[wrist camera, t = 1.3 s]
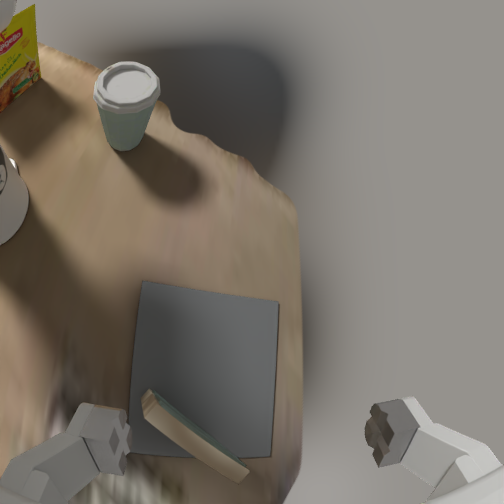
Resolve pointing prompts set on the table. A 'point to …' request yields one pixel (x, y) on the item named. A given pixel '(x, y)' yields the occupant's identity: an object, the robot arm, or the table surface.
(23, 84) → the food package
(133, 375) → the charcoal mat
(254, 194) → the table surface
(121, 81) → the disposable coffee cup
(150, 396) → the ash tile
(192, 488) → the table surface
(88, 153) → the table surface
